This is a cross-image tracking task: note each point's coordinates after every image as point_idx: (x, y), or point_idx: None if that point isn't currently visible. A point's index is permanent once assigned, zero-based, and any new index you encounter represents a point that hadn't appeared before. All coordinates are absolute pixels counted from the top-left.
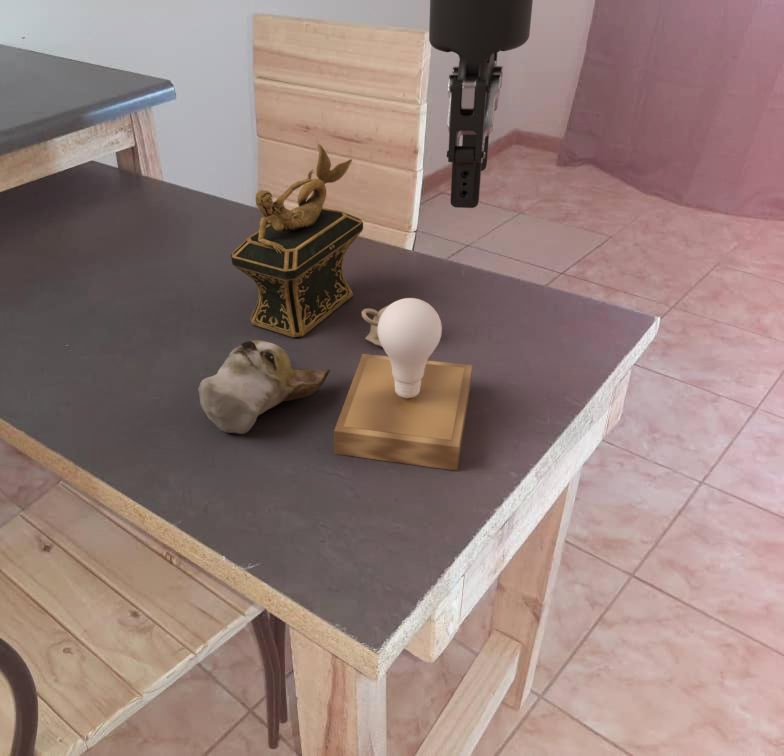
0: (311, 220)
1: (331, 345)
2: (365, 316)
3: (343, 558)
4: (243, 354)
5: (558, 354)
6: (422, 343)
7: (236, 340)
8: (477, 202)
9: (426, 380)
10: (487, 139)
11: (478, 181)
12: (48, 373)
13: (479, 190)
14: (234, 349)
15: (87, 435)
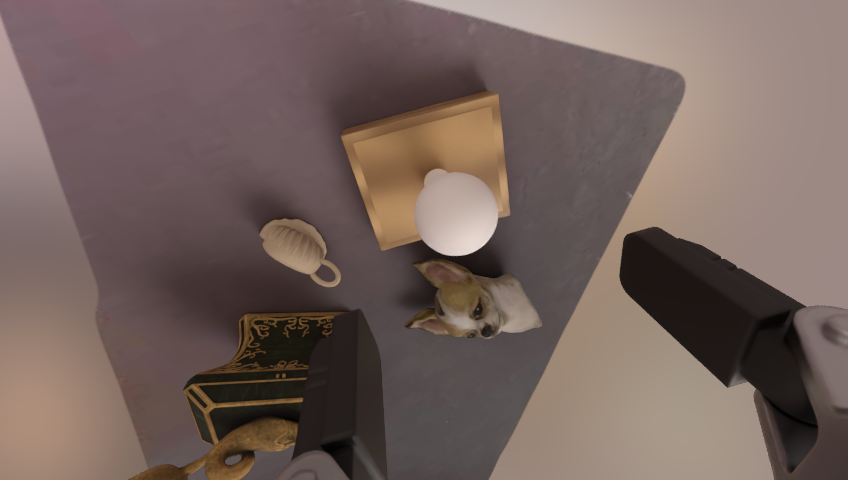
0: (272, 423)
1: (346, 284)
2: (339, 279)
3: (613, 139)
4: (498, 328)
5: (196, 40)
6: (487, 186)
7: (383, 348)
8: (660, 230)
9: (399, 172)
10: (357, 394)
11: (720, 268)
12: (480, 408)
13: (667, 249)
14: (492, 337)
15: (533, 351)
